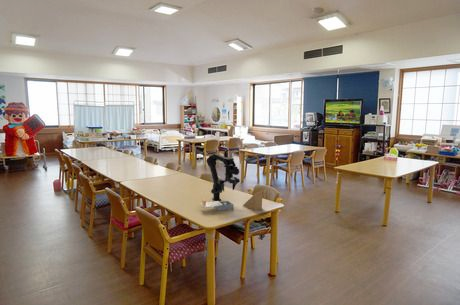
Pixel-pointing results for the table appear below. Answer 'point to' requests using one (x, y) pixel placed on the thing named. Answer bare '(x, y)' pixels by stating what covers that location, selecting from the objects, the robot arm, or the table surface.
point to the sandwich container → (255, 201)
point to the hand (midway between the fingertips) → (228, 190)
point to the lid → (210, 203)
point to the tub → (224, 206)
